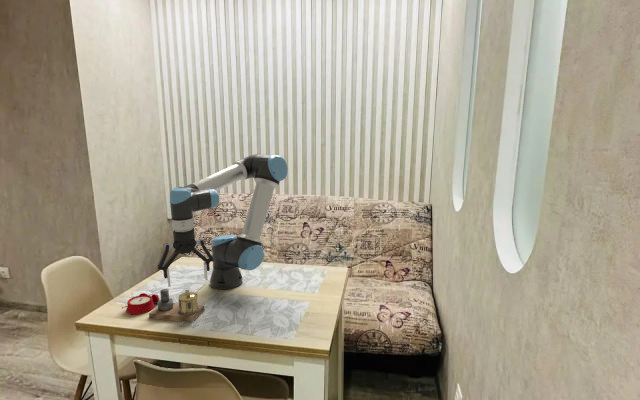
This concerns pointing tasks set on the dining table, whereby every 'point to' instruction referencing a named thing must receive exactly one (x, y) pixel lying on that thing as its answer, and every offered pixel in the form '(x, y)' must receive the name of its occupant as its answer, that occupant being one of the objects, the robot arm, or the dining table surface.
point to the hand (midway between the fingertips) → (188, 282)
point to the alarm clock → (141, 303)
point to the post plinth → (172, 310)
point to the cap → (188, 302)
